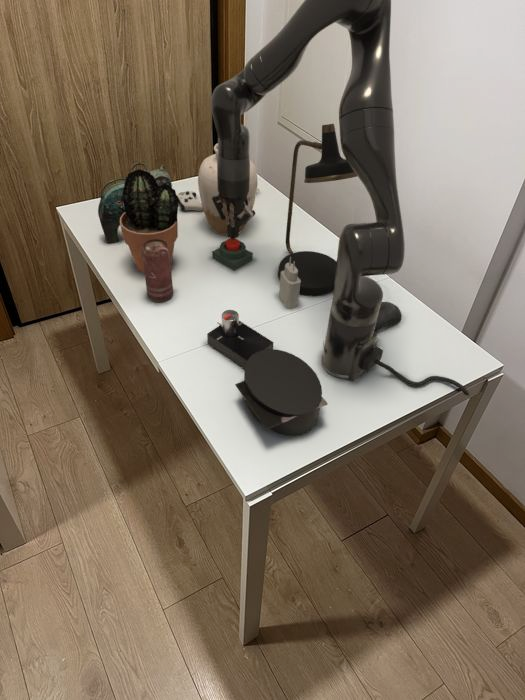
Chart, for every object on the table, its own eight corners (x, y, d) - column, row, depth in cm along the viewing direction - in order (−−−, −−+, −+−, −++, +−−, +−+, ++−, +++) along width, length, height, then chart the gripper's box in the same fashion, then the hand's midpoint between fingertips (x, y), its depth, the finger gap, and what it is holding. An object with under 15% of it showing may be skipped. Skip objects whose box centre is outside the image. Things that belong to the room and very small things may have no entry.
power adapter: (287, 309, 126) (291, 267, 118) (277, 295, 129) (281, 254, 121) (298, 306, 127) (304, 264, 119) (289, 292, 130) (293, 251, 122)
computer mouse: (413, 323, 124) (417, 310, 122) (370, 348, 117) (374, 336, 115) (381, 301, 130) (384, 288, 127) (338, 324, 123) (341, 311, 120)
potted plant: (142, 286, 129) (128, 191, 112) (117, 259, 137) (101, 166, 120) (190, 269, 136) (185, 176, 118) (164, 244, 143) (156, 153, 126)
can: (169, 305, 125) (164, 255, 115) (144, 300, 126) (136, 250, 116) (177, 289, 129) (173, 240, 120) (152, 285, 130) (146, 236, 120)
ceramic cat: (171, 222, 151) (166, 154, 137) (179, 234, 147) (173, 164, 133) (101, 235, 145) (87, 165, 131) (106, 248, 141) (93, 176, 127)
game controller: (206, 208, 156) (191, 197, 152) (194, 221, 157) (179, 211, 153) (196, 192, 162) (182, 181, 158) (185, 206, 164) (170, 195, 160)
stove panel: (272, 352, 115) (273, 341, 113) (247, 371, 111) (248, 360, 108) (230, 324, 121) (230, 313, 119) (204, 341, 117) (204, 331, 114)
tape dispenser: (288, 365, 114) (288, 339, 109) (335, 422, 102) (338, 395, 97) (226, 389, 109) (224, 362, 104) (268, 451, 97) (268, 424, 92)
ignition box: (252, 260, 140) (253, 247, 137) (234, 271, 136) (234, 258, 133) (230, 248, 143) (230, 235, 141) (212, 258, 139) (211, 245, 137)
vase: (236, 247, 144) (237, 166, 128) (188, 229, 149) (184, 149, 133) (265, 222, 154) (270, 144, 138) (219, 206, 159) (219, 129, 143)
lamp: (300, 305, 127) (319, 147, 100) (258, 258, 141) (265, 107, 114) (356, 288, 133) (388, 134, 106) (310, 244, 146) (329, 98, 120)
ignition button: (242, 247, 137) (242, 241, 136) (232, 253, 135) (232, 247, 134) (232, 242, 139) (232, 236, 138) (222, 247, 137) (222, 241, 136)
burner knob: (229, 323, 117) (229, 306, 113) (241, 330, 115) (242, 313, 112) (218, 331, 115) (218, 314, 111) (230, 339, 113) (230, 322, 110)
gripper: (265, 177, 122) (262, 241, 134) (224, 158, 128) (224, 221, 140) (243, 187, 118) (241, 253, 130) (201, 167, 124) (204, 232, 136)
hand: (233, 237), depth 135 cm, fingers closed
